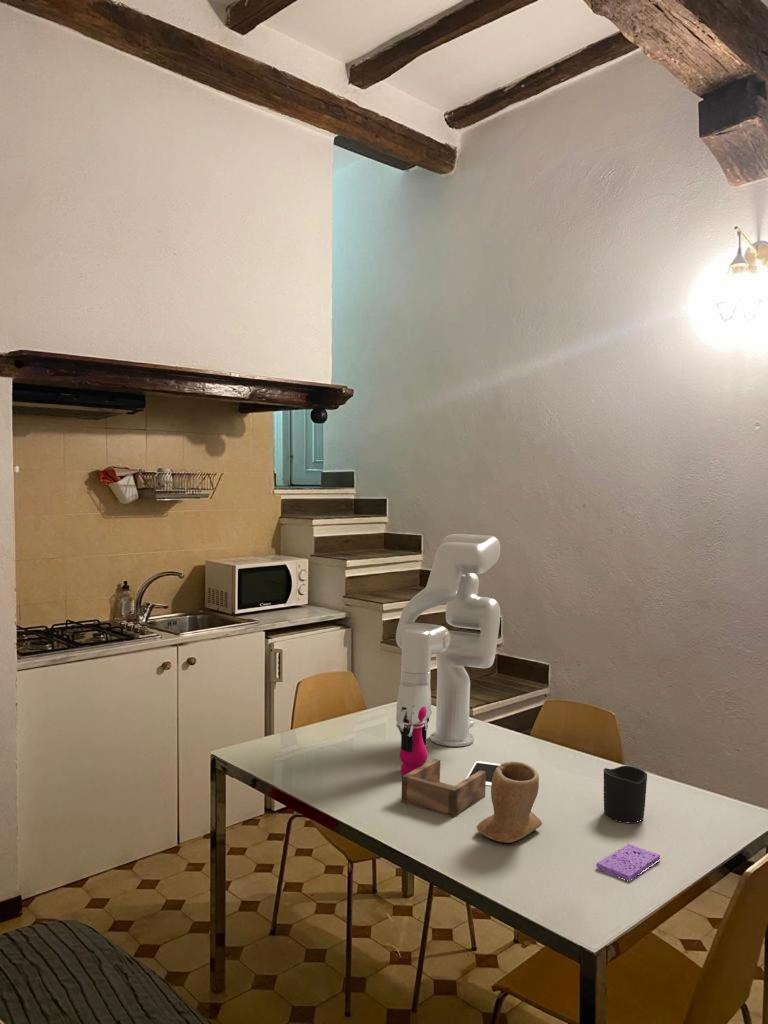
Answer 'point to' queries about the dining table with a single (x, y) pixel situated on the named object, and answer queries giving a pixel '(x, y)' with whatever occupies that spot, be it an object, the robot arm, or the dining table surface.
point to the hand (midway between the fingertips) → (413, 746)
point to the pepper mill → (415, 747)
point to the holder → (441, 790)
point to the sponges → (628, 862)
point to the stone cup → (512, 803)
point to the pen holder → (625, 793)
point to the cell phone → (486, 767)
